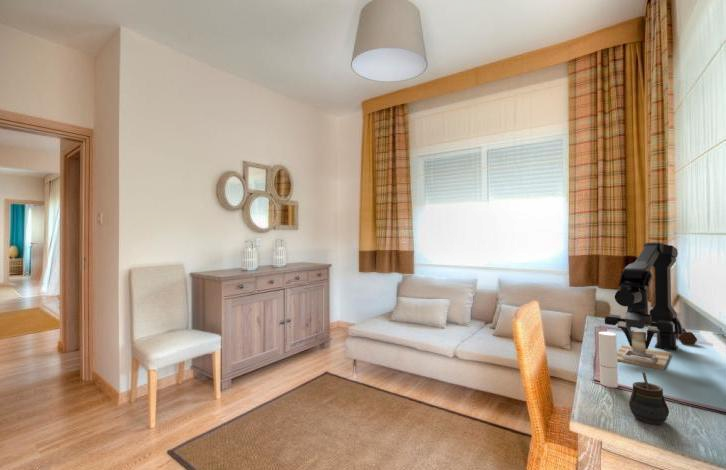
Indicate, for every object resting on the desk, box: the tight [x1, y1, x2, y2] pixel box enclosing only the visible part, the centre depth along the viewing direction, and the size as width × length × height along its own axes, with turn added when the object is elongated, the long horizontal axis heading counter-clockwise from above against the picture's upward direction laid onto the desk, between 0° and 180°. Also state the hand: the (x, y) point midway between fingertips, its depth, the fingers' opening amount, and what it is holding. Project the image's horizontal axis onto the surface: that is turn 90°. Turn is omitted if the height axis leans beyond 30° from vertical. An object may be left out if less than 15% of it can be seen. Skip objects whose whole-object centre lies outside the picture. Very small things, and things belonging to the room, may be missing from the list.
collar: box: [622, 350, 656, 364], centre depth 121 cm, size 8×8×1 cm
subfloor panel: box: [617, 344, 672, 371], centre depth 124 cm, size 20×14×1 cm
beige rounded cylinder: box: [631, 329, 647, 356], centre depth 121 cm, size 4×4×8 cm
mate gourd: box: [628, 371, 670, 425], centre depth 83 cm, size 7×8×10 cm
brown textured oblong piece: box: [676, 327, 698, 346], centre depth 144 cm, size 6×5×15 cm
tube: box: [598, 331, 619, 388], centre depth 102 cm, size 4×4×15 cm
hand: (639, 347), depth 121 cm, fingers closed on beige rounded cylinder, 4 cm apart
